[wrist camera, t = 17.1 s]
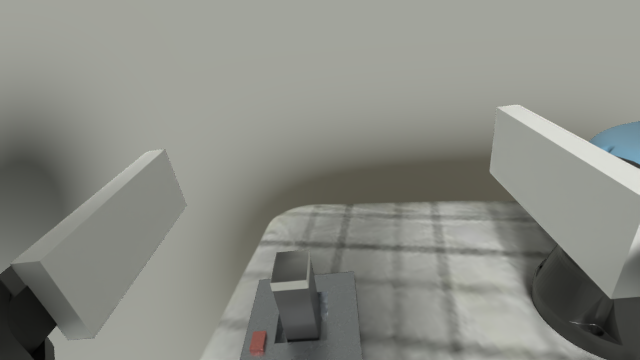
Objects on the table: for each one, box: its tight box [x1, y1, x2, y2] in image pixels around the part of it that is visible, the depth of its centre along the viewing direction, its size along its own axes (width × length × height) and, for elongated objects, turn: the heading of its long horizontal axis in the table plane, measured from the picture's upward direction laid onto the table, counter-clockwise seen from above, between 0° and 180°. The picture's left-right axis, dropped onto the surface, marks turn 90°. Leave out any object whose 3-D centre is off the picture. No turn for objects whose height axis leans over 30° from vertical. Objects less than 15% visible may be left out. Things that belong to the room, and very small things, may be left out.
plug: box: [270, 249, 321, 343], centre depth 41 cm, size 4×5×11 cm
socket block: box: [240, 272, 362, 360], centre depth 43 cm, size 14×14×4 cm
